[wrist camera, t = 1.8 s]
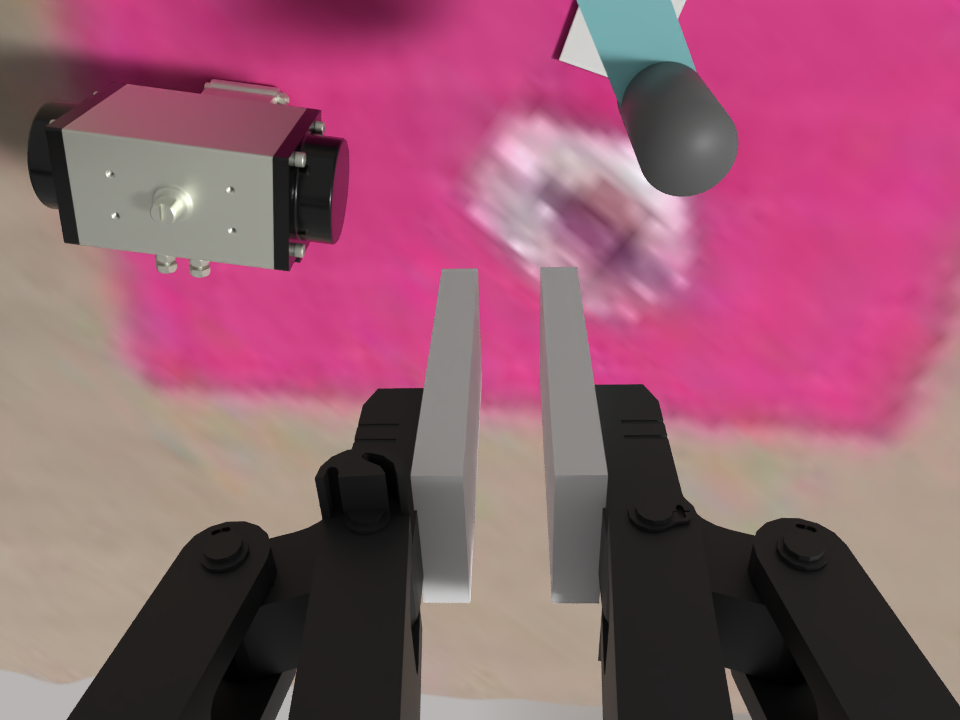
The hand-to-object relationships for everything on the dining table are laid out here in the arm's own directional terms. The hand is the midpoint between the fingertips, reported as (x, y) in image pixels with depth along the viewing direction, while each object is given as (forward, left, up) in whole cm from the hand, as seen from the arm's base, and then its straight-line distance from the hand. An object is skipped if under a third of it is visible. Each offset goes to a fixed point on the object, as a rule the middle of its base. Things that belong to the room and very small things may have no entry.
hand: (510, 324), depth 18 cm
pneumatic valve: (-11, -7, -25) cm, 28 cm away
